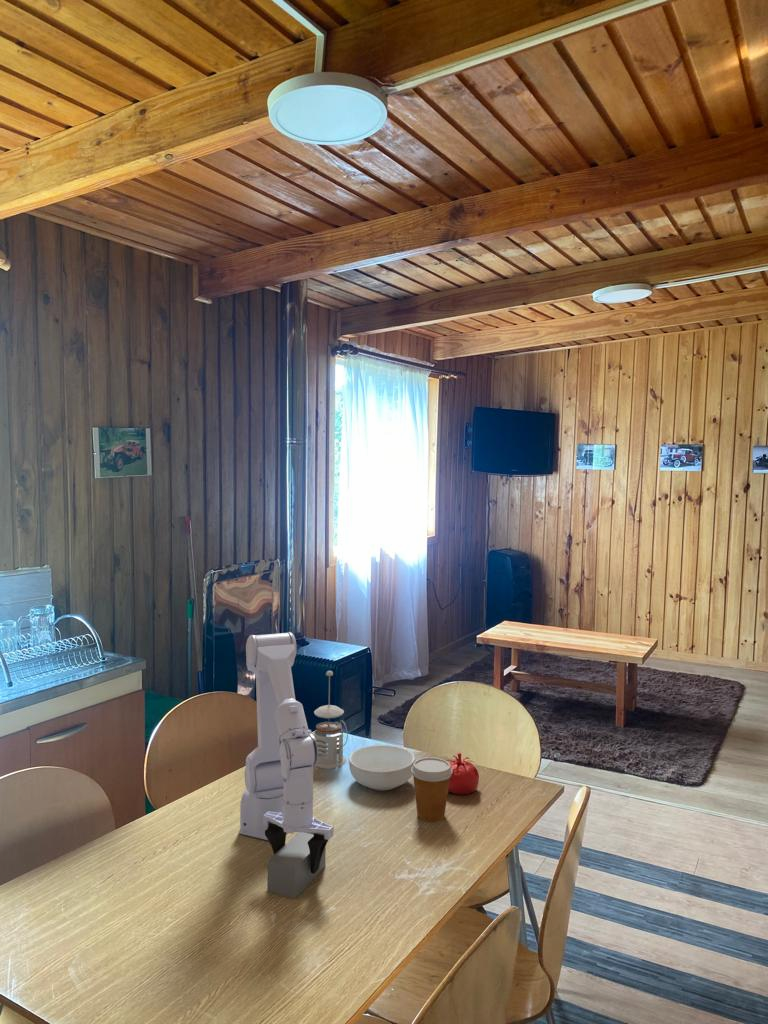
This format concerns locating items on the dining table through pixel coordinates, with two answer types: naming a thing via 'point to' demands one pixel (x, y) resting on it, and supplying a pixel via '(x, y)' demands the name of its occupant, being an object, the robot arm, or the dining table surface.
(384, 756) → the cereal bowl
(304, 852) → the grey rectangular block
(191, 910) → the dining table surface
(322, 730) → the french press
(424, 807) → the disposable coffee cup
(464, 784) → the pomegranate
